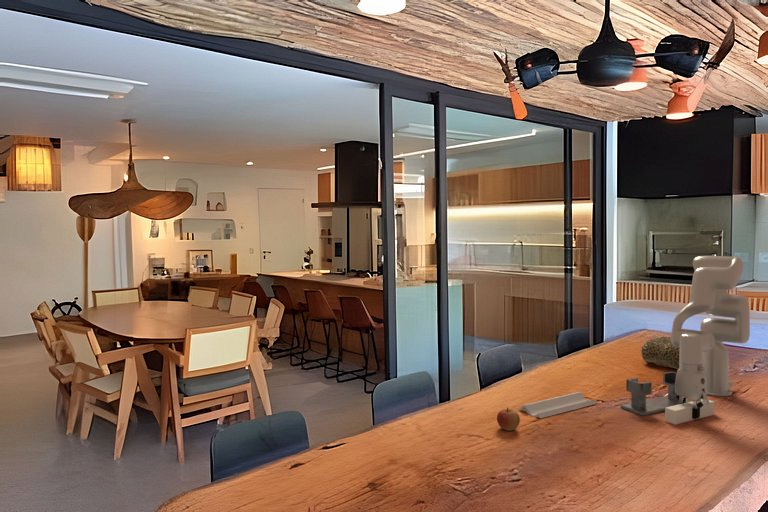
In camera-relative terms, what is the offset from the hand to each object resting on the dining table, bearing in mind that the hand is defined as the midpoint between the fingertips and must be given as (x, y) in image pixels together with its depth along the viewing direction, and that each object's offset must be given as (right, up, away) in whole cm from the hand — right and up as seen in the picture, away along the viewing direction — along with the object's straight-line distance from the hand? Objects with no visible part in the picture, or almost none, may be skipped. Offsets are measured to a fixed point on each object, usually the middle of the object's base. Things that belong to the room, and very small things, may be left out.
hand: (689, 415), depth 204 cm
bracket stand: (-6, 0, +13) cm, 14 cm away
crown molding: (-45, -1, +14) cm, 47 cm away
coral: (+30, +3, +75) cm, 80 cm away
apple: (-69, -2, -9) cm, 70 cm away
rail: (0, -1, 0) cm, 1 cm away
